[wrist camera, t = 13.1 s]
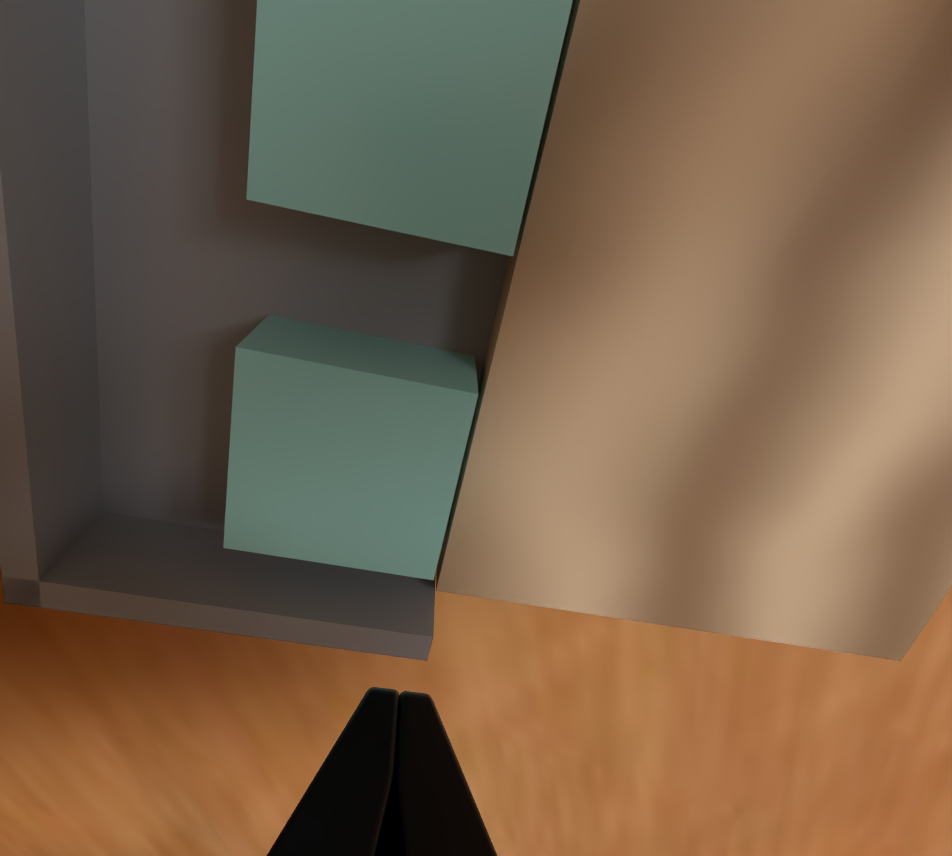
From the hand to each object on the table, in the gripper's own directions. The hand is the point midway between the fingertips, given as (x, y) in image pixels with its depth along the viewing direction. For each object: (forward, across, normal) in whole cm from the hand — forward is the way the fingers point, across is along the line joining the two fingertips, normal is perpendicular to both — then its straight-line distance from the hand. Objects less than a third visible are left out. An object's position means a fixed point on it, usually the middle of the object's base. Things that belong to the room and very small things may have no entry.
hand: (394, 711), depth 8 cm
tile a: (+9, +2, -8) cm, 12 cm away
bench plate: (+9, -8, -4) cm, 13 cm away
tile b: (+9, +2, 0) cm, 9 cm away
